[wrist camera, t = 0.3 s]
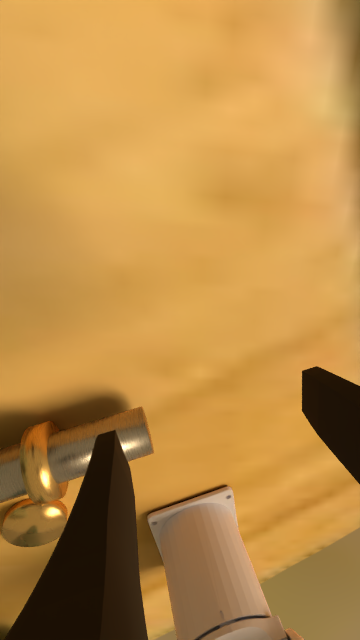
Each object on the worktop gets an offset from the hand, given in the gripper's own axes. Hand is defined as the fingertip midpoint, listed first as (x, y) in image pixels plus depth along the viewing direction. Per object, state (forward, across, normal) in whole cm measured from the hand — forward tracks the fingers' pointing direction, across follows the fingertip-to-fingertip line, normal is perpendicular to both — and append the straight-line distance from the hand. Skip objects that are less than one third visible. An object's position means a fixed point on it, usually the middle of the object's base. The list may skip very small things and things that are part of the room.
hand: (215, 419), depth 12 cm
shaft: (+10, +10, +6) cm, 16 cm away
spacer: (+10, +14, +14) cm, 22 cm away
